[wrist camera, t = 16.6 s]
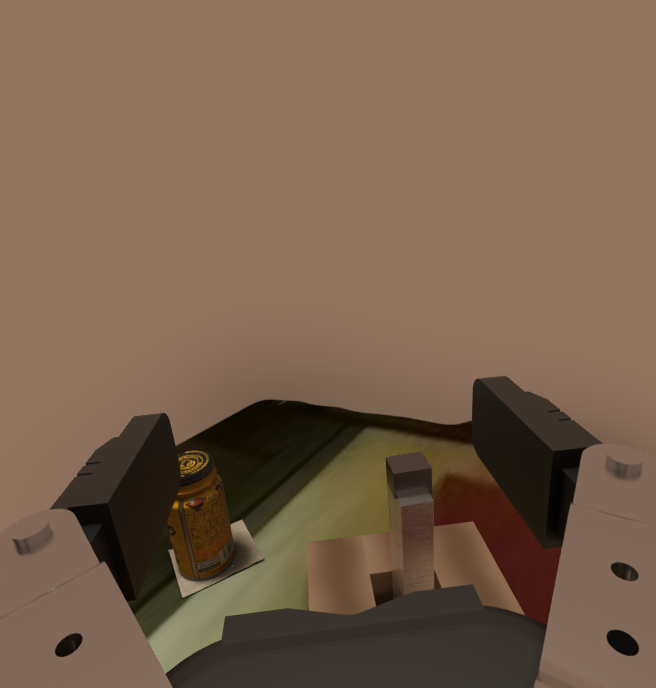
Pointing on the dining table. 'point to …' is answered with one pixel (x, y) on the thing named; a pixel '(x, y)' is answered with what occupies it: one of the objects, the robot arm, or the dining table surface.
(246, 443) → the dining table surface
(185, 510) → the condiment
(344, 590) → the tongs holder
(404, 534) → the metal bar
